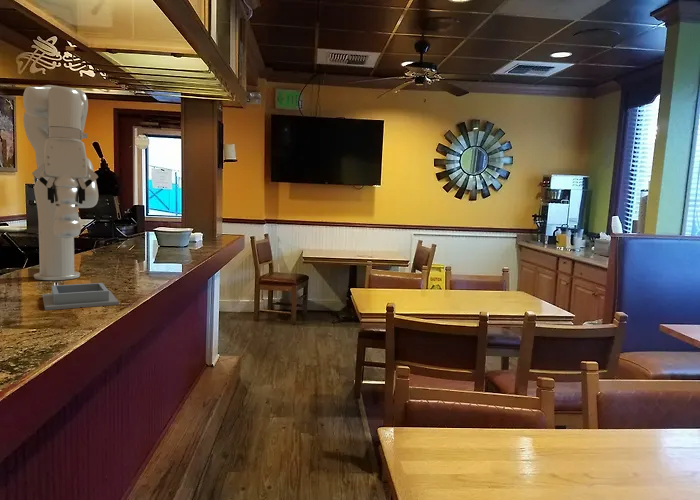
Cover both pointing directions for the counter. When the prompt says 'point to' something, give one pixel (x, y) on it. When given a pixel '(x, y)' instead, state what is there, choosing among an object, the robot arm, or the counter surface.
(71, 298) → the blue-grey square tray
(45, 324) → the counter surface
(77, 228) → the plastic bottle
